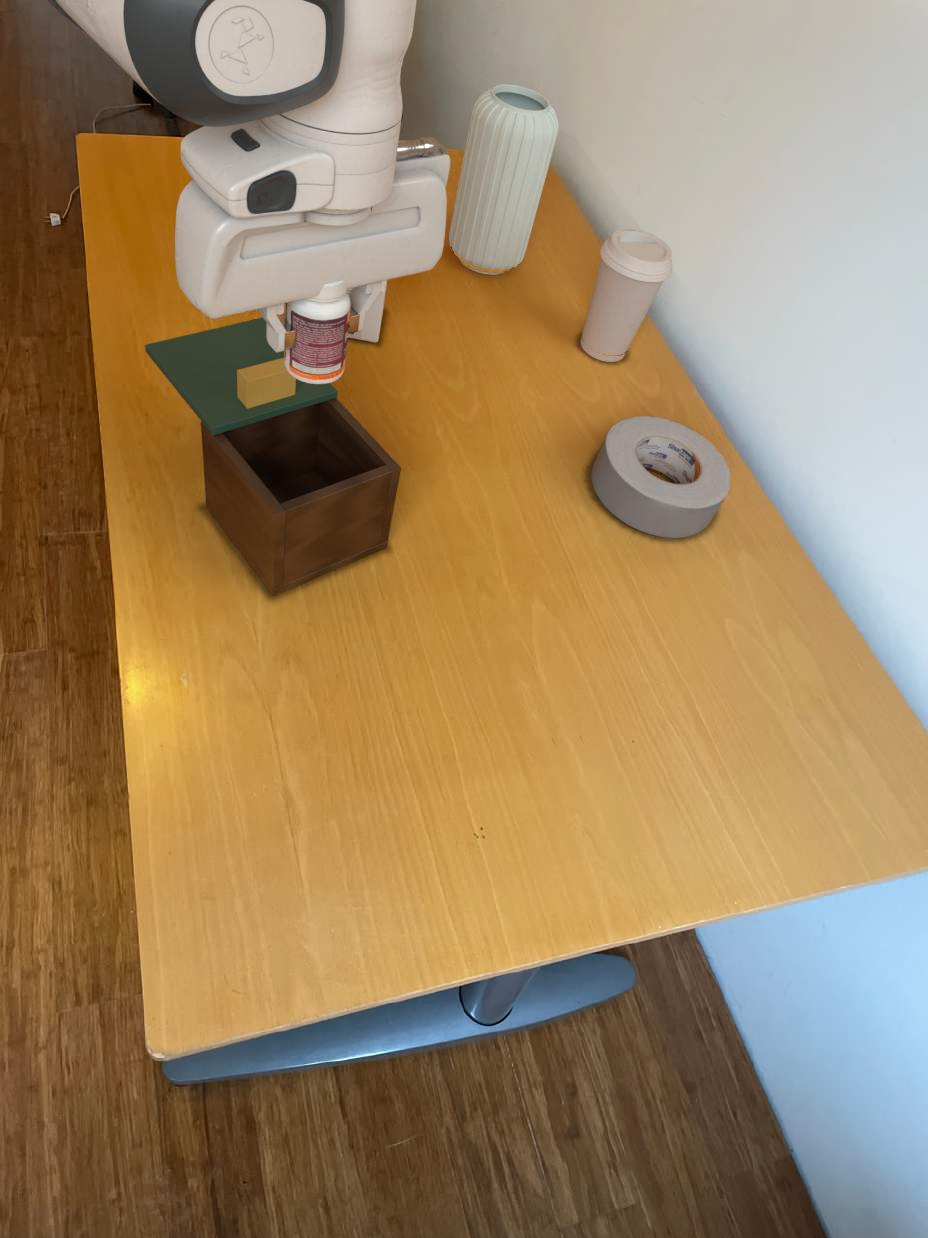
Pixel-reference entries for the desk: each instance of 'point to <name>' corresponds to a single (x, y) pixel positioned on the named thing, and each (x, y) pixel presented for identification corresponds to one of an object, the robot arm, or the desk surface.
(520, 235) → the vase
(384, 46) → the robot arm
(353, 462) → the box
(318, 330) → the pill bottle
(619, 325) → the coffee cup
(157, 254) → the desk surface
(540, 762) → the desk surface
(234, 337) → the lid
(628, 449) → the tape roll
